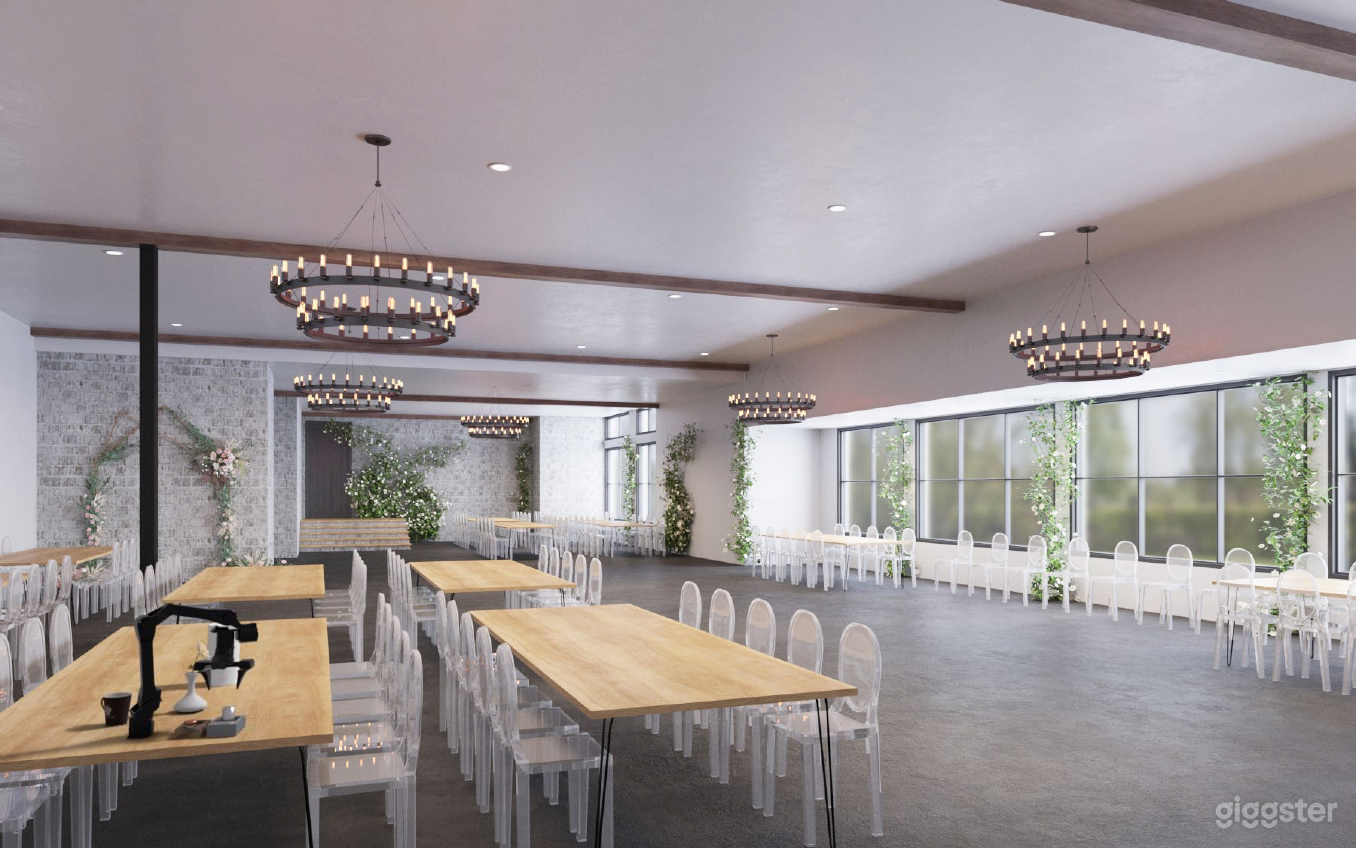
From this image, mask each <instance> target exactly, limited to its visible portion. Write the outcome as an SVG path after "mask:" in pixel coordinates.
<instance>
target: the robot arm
mask: <svg viewBox="0 0 1356 848" xmlns="http://www.w3.org/2000/svg"><path fill="white" fill-rule="evenodd" d="M237 615H238V614H237V612H236V611H235V610H233V609H231V608H228V607H212V608H205V607H197V606H192V605H185V604H178V603H173V602H166V603H164V604H163V605H161V606H160V607H158V608H156V609H153V610H151V611H149V612H148V613H146V614H140V615H138V616H137V617H136V618H135V619H134V621H133V628H134V632H135V637H136V638H137V642H138V651H139V653H138V654H139V674H140V675H139V676H140V687H139V690H138V694H137V699H136V703H135V704H134V705H133V706H132V707H130V708H129V714H130V717H128V718H129V719H128V733H127V734H128V735H127V736H126V737H125V739H127V740H129V739H147V737H148V738H149V737H150V736H152V735H153V734H154V733H155V720H154V717H153V716H154V713H155V712H156V711H157V710H158V709H159V708H160V706H161V703H162V702H163V699H162V689H161V688H160V687H159V686H156V684H155V666H154V665H155V664H154V640H155V639H154V638H155V636H156V630H157V627H158V626H159V625H160V624H162V623H163V622H165V621H166V620H168V618H169V617H171V616H178V617H184V618H191V619H199V620H204V621H205V620H206V621H209V622H213V623H218V624H221V625H225V626H232V627H235V628H236V629H229V628H228V627H218V626H217V625H215V627H214V628H213V629H211V630H210V632H212V633H217V638H216V649H215V654H214V656H213V658H212V659H211V662H210V660H205V659H199V660H198V661H197V660H196V663H195V662H194V663H193V669H192V670H193V672H198V673H199V675H201V676H202V677H203V679H204V682H205V686H206V685H207V686H206V688H207V691H211V688H212V687H211V669H212V670H215V669H221V670H223V669H226V668H227V667H239V670H238V678H237V684H235V685H236V688H235V689H236V690H239V688H240V686H241V684H242V682H243V681H242V680H243V678H244V676H245V675H246V673H247V672H248V671H250V670H251V669H253V668H254V667H255V663H256V662H255V660H254V658H242V659H241V660H239V662H234V649H235V646H234V636H235V639H236V641H238V642H239V643H240V644H245V643H257V642H258V640H259V631H258V627H257V626H258V625H257V622H249V623H241V621H239V619H238V616H237Z"/></svg>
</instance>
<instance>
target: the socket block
mask: <svg viewBox="0 0 1356 848" xmlns="http://www.w3.org/2000/svg"><path fill="white" fill-rule="evenodd" d="M196 720H197V723H195V728H185V726H186V724H184V722H183V723H181V724H180V725H178V726H177V727H175V728H174V730H173V731H174V732H173V739H178V740H179V739H198V738H199V737H200V738H201V737H203V736H204V735H205V734H207V725H208V724H209V723H210V722H212V721H213V719H196ZM200 738H199V739H200Z"/></svg>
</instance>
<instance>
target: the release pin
mask: <svg viewBox="0 0 1356 848" xmlns="http://www.w3.org/2000/svg"><path fill="white" fill-rule="evenodd" d="M197 720H198V719H186V720H183V723H184V724H186V726H185V728H195V723H197Z"/></svg>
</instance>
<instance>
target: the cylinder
mask: <svg viewBox="0 0 1356 848" xmlns="http://www.w3.org/2000/svg"><path fill="white" fill-rule="evenodd" d="M215 625H217V626H218V627H228V628H229V629H236V628H235V627H232V626H225V625H221V624H218V623H215V622H213V623H209V624H208V625H207V643H206V649H207V651H209V653H208V654H209V656H210V658H208V659H209V660H210V662H211V659H212V658H213V656H214V654H215V649H216V638H217V633H212V632H210V630H211V629H213V628H214V627H215ZM234 646H235V649H234V662H239V661H240V653H241V651H240V650H241V648H240V647H241V643H239V642H238V641H236V639H235V636H234ZM239 669H240V668H239V667H227V668H226V669H223V670H221V669H215V670H212V669H211V688H212V687H213V688H214V687H215V688H216V687H218V688H220V687H227V686H226V685H230V686H234V685H237V684H236V683H237V678H238V670H239ZM205 686H206V687H207V685H206V684H205Z"/></svg>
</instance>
